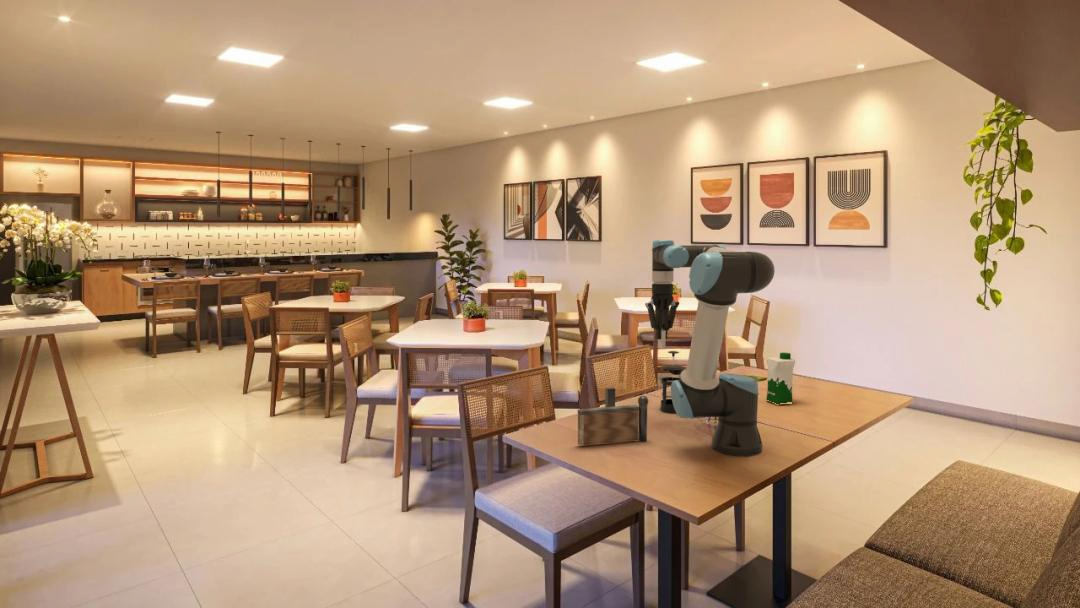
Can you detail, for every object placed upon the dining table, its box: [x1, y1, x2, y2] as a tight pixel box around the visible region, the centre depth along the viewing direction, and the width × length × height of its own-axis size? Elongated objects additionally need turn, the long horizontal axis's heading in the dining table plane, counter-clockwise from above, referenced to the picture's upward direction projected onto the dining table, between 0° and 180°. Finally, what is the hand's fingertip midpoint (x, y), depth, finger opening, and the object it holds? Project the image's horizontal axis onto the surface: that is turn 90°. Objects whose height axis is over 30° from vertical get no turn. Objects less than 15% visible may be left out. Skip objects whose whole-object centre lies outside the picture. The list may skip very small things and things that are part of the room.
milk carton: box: [765, 352, 796, 404], centre depth 248 cm, size 9×9×20 cm
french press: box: [659, 350, 686, 415], centre depth 238 cm, size 12×9×23 cm
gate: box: [577, 404, 639, 447], centre depth 200 cm, size 20×2×11 cm, turn 105°
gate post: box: [637, 395, 649, 443], centre depth 203 cm, size 3×3×15 cm
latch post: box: [604, 386, 616, 407], centre depth 225 cm, size 2×3×12 cm, turn 110°
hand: (661, 348), depth 225 cm, fingers closed
